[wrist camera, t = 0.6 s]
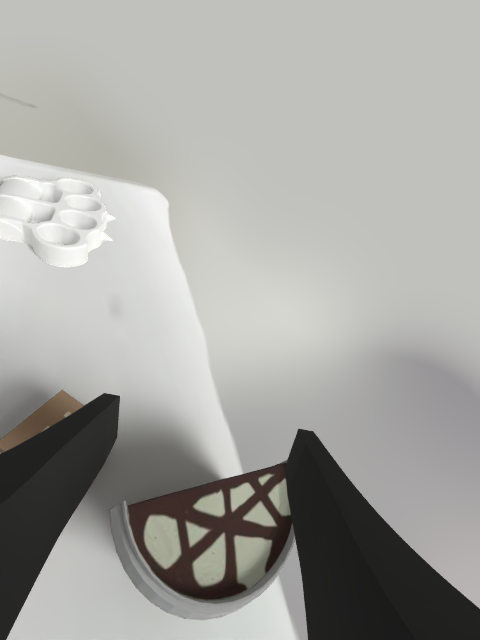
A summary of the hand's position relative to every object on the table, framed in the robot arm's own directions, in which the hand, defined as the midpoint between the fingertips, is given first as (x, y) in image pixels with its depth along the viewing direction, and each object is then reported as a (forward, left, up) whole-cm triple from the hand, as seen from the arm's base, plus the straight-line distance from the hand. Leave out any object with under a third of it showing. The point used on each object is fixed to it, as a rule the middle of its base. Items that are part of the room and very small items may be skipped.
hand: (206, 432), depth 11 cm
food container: (-1, -5, -17) cm, 18 cm away
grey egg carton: (+21, +32, -18) cm, 42 cm away
